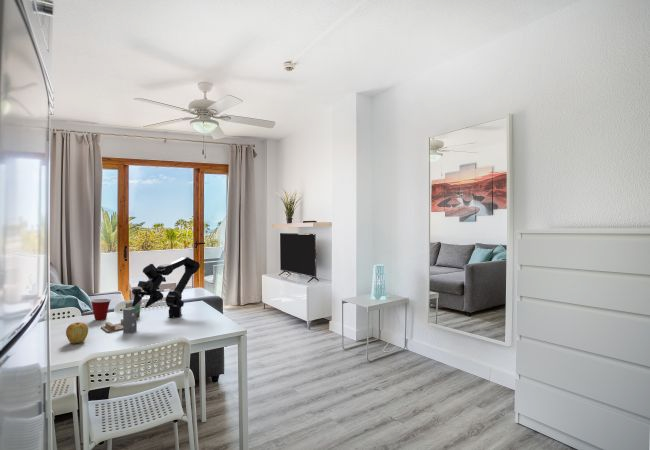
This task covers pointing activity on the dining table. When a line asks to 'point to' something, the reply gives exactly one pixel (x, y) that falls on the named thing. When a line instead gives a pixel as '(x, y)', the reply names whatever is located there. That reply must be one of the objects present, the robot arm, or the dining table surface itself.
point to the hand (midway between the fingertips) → (139, 306)
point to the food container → (134, 307)
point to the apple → (77, 332)
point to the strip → (129, 320)
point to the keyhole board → (117, 326)
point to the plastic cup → (100, 308)
